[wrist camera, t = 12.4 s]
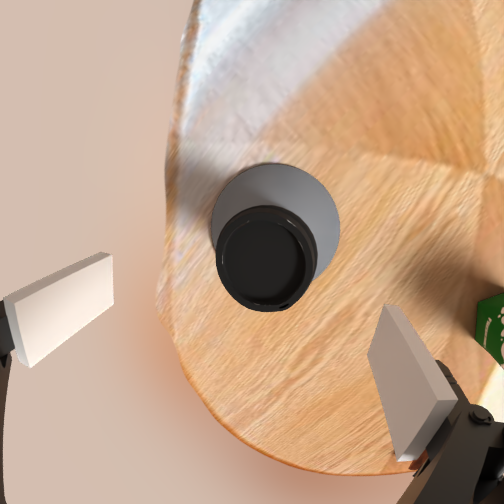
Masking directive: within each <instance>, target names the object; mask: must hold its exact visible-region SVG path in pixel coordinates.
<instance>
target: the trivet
mask: <svg viewBox="0 0 504 504" xmlns="http://www.w3.org/2000/svg"><path fill="white" fill-rule="evenodd" d="M259 205H274V206H278V207H283V208H285V209H288V210H290V211H292V212H293V213H295V214H296V215H297V216H299V217H300V218H301V219H302V220H303V221H304V222H305V223H306V224H307V225H308V227H309V228H310V230H311V232H312V233H313V235H314V238H315V241H316V244H317V251H318V260H317V268H316V271H315V275H314V278H313V279H312V281H313V280H314V279H316V278H317V277H318V276H319V275H320V274H321V273H322V272H323V271H324V270H325V269H326V268H327V266H328V265H329V264H330V262H331V260H332V258H333V257H334V255H335V252H336V249H337V246H338V242H339V236H340V221H339V215H338V212H337V208H336V205H335V203H334V201H333V199H332V197H331V196H330V194H329V193H328V191H327V190H326V189H325V187H324V186H323V185H322V184H321V183H320V182H319V181H318V180H317V179H315V178H314V177H313V176H311V175H310V174H308V173H306V172H304V171H302V170H300V169H298V168H295V167H292V166H287V165H280V164H270V165H262V166H258V167H255V168H252V169H249V170H247V171H245V172H243V173H241V174H240V175H238V176H237V177H236V178H234V179H233V180H232V181H231V182H230V183H229V184H228V185H227V186H226V187H225V189H224V190H223V191H222V193H221V194H220V196H219V198H218V200H217V202H216V204H215V207H214V210H213V214H212V221H211V233H212V240H213V244H214V247H215V250H216V245H217V240H218V237H219V235H220V232H221V230H222V229H223V227H224V226H225V224H226V223H227V222H228V221H229V220H230V219H231V218H232V217H233V216H234V215H236V214H237V213H239V212H240V211H242V210H245V209H247V208H250V207H253V206H259Z"/></svg>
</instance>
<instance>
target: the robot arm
mask: <svg viewBox="0 0 504 504" xmlns="http://www.w3.org/2000/svg"><path fill="white" fill-rule="evenodd" d="M112 264H113V263H112V254H107V253H103V252H100V253H98V254H95V255H93V256H90V257H88V258H86V259H84V260H81V261H79V262H77V263H75V264H73V265H70V266H68V267H66V268H64V269H62V270H59V271H57V272H55V273H53V274H51V275H49V276H47V277H45V278H42V279H41V280H38V281H36V282H34V283H32V284H30V285H28V286H26V287H24V288H22V289H20V290H17V291H16V292H14V293H11V294H10V295H8V296H6V297H4V298H3V300H2V301H0V504H7V503H6V501H5V496H4V484H3V427H4V426H3V425H4V412H5V402H6V394H7V387H8V380H9V373H10V367H11V361H12V357H11V354H10V351H12V350H13V349H15V350H16V354H17V357H18V360H19V361H20V362H21V363H23V364H24V365H26V366H27V367H29V368H31V367H33V366H34V365H35V364H36V363H37V362H39V361H40V360H41V359H42V358H44V357H45V356H46V355H48V354H49V353H50V352H51V351H53V350H54V349H55V348H57V347H58V346H59V345H60V344H61V343H63V342H64V341H66V340H67V339H68V338H69V337H71V336H72V335H73V334H75V333H76V332H77V331H79V330H80V329H81V328H82V327H84V326H85V325H87V324H88V323H89V322H90V321H92V320H93V319H94V318H96V317H97V316H99V315H100V314H101V313H103V312H104V311H105V310H107V309H108V308H109V307H110V306H112V305H113V304H114V298H113V265H112ZM367 357H368V360H369V363H370V366H371V369H372V372H373V375H374V379H375V382H376V385H377V389H378V392H379V395H380V399H381V402H382V406H383V409H384V413H385V416H386V420H387V424H388V427H389V431H390V435H391V439H392V443H393V447H394V451H395V455H396V459H397V461H412V460H417V459H418V458H419V457H420V455H421V454H422V453H423V451H424V450H425V449H426V451H427V454H428V458H427V459H426V461H425V462H424V463H423V464H422V466H421V467H420V468H419V469H418V470H417V471H416V473H415V474H414V475H413V477H414V479H413V481H412V482H411V484H410V485H409V487H408V488H407V490H406V491H405V492H404V494H403V495H402V497H401V498H400V499H399V501H398V502H397V504H504V476H503V473H504V423H501V422H495V421H494V418H493V416H492V414H491V413H490V412H489V411H488V410H487V409H485V408H483V407H482V406H479V405H476V404H470V403H469V401H468V399H467V398H466V396H465V394H464V393H463V391H462V389H461V388H460V386H459V385H458V384H457V381H456V380H455V378H454V377H453V375H452V374H451V372H450V370H449V369H448V367H446V366H445V365H444V364H443V363H442V362H441V361H439V360H434V358H433V357H432V355H431V353H430V352H429V350H428V349H427V347H426V346H425V344H424V343H423V341H422V339H421V338H420V336H419V335H418V333H417V332H416V330H415V329H414V327H413V326H412V324H411V323H410V321H409V320H408V319H407V317H406V316H405V314H404V313H403V311H402V310H401V308H400V307H399V306H396V305H389V304H384V306H383V309H382V312H381V315H380V318H379V322H378V325H377V328H376V331H375V334H374V337H373V339H372V342H371V345H370V348H369V351H368V353H367Z"/></svg>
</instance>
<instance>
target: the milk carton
mask: <svg viewBox="0 0 504 504" xmlns="http://www.w3.org/2000/svg"><path fill="white" fill-rule="evenodd" d="M475 341H476V342H478V343H479V344H480V345H481V346H482V347H483V348H484V349H485V350H486V351H488V352H489V353H490V354H491V356H492V357H493V358H494V359H495V360H496V361H497V362H498V363H499V365H500V366H501V367H502V368H503V369H504V293H501V294H499V295H496V296H494V297H491V298H488V299H485V300H483V301H480V302H478V309H477V323H476V334H475Z"/></svg>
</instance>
